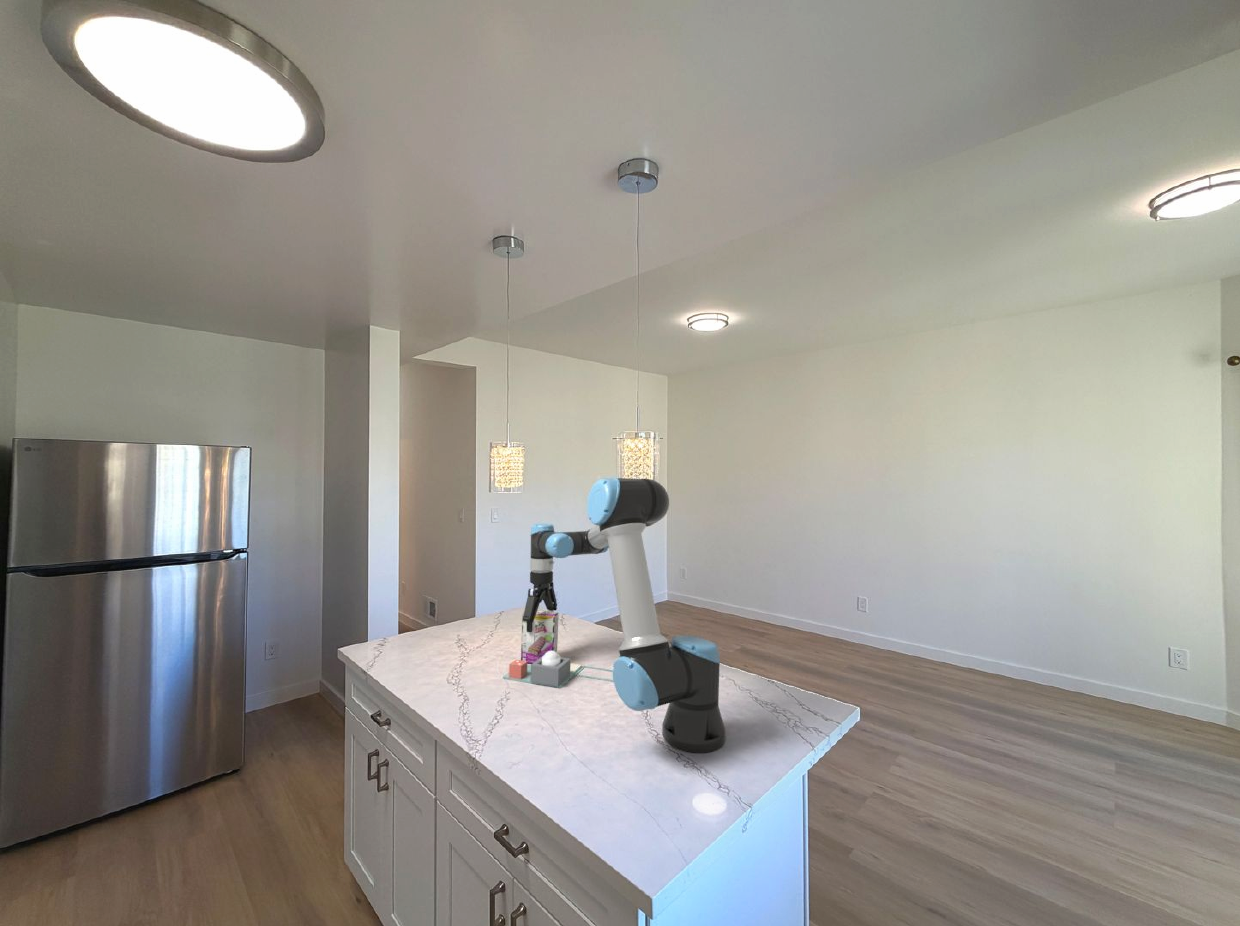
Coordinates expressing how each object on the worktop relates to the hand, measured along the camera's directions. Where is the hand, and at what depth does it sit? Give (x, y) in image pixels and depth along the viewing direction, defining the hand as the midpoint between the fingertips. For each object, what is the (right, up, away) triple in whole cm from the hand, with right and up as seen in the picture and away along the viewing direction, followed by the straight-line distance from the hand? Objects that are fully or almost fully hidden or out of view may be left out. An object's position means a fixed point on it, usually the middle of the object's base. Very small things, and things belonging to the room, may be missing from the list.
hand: (540, 635), depth 163 cm
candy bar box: (0, -9, 0) cm, 9 cm away
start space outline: (+20, -10, -6) cm, 23 cm away
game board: (+2, -9, -7) cm, 12 cm away
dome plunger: (+5, -7, -12) cm, 15 cm away
